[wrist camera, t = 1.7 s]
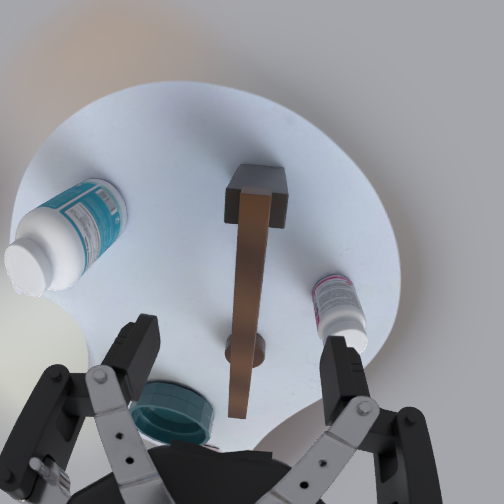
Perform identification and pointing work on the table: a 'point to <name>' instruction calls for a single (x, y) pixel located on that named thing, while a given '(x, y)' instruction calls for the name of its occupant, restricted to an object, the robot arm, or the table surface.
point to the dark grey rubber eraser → (258, 178)
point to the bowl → (172, 414)
